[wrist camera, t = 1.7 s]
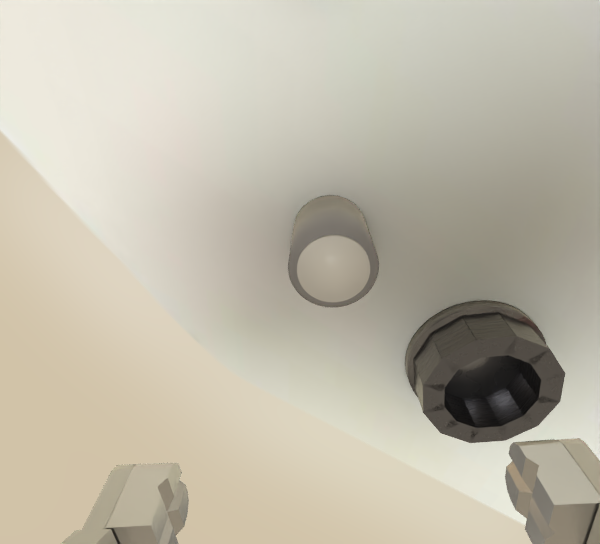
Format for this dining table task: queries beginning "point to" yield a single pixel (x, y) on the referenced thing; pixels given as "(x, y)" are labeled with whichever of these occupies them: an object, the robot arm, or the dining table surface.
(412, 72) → the dining table surface
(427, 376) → the faceted grey ring
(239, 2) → the dining table surface
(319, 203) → the grey cylinder
